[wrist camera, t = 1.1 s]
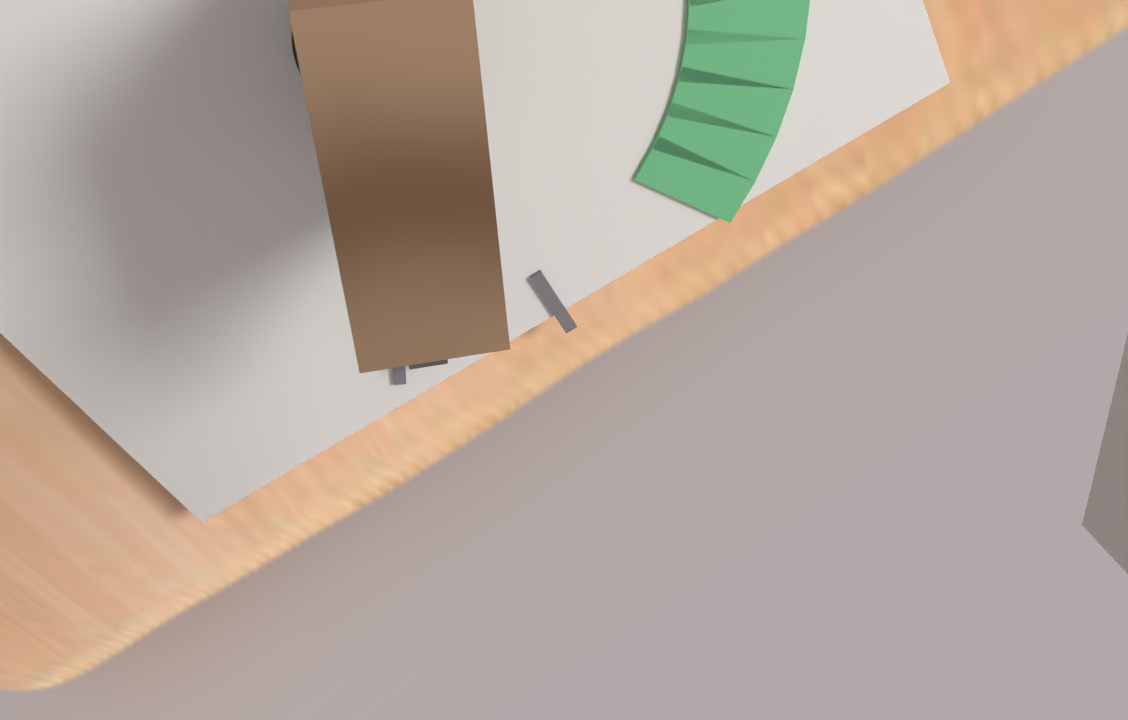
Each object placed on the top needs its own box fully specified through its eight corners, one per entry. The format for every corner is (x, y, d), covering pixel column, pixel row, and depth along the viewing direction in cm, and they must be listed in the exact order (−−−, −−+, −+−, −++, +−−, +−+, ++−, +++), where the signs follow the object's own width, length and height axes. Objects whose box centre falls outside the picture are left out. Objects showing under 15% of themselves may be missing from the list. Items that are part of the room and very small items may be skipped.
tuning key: (265, -96, 26) (243, 16, 17) (443, -114, 27) (513, -15, 18) (356, 366, 34) (375, 616, 25) (495, 343, 34) (564, 580, 25)
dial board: (-361, -51, 26) (-399, -37, 25) (645, -756, 23) (666, -785, 22) (218, 507, 38) (214, 538, 36) (932, 86, 35) (959, 103, 34)
